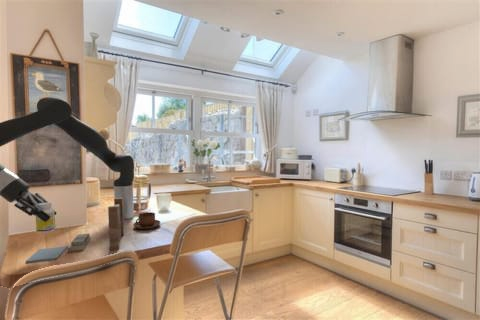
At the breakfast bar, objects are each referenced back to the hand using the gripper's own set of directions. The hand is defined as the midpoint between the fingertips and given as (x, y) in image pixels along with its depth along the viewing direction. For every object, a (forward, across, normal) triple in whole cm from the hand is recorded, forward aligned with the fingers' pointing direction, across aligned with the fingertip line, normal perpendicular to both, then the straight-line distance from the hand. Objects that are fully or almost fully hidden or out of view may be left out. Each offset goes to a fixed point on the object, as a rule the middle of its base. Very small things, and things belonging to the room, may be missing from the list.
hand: (51, 217), depth 96 cm
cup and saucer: (+32, +23, -12) cm, 41 cm away
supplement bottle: (+2, 0, +5) cm, 5 cm away
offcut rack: (+19, +6, 0) cm, 20 cm away
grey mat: (+8, 0, +10) cm, 13 cm away
